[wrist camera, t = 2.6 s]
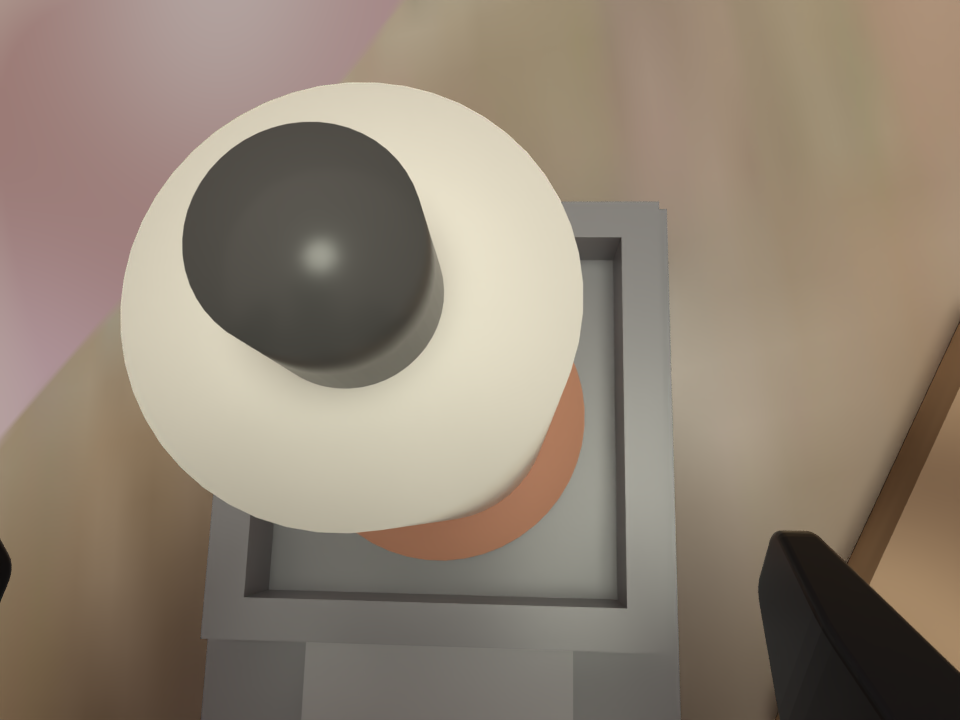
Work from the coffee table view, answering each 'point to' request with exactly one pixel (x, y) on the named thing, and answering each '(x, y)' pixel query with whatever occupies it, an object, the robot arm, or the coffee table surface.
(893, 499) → the walnut board
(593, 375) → the grey boxy piece
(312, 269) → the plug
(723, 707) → the coffee table surface
